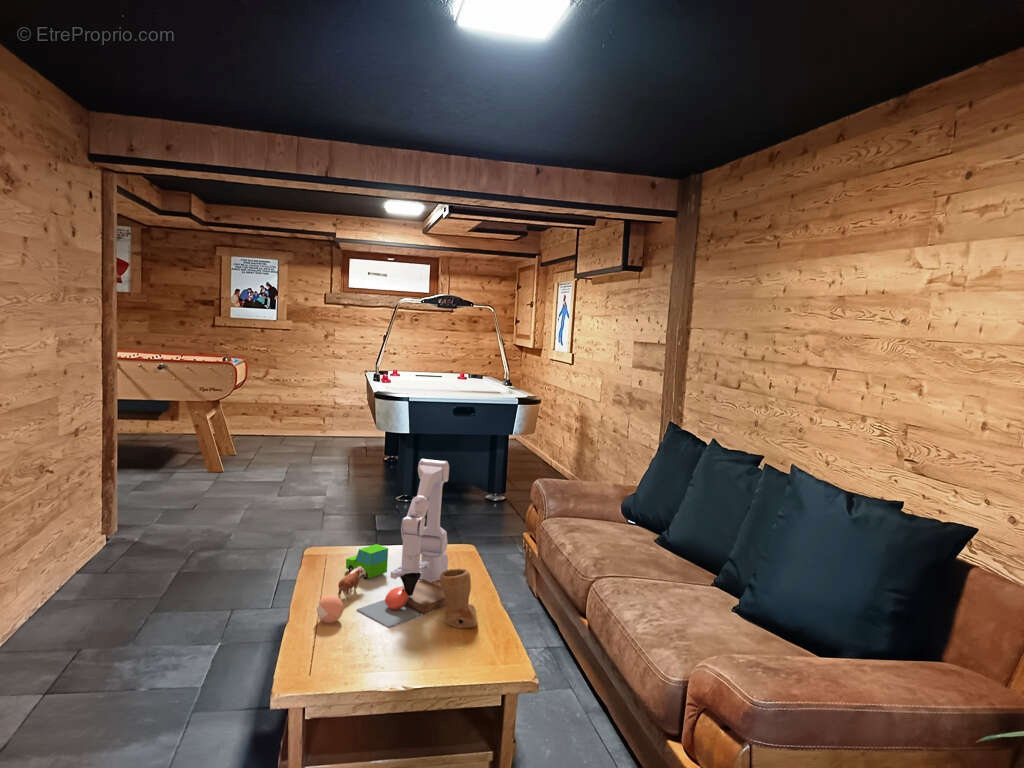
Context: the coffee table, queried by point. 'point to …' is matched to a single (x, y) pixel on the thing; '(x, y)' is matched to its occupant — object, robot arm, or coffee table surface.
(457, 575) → the brown boot
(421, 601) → the board
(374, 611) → the mat
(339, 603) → the egg
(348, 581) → the bull figurine
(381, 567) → the toy car
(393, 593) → the red ball
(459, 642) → the coffee table surface
